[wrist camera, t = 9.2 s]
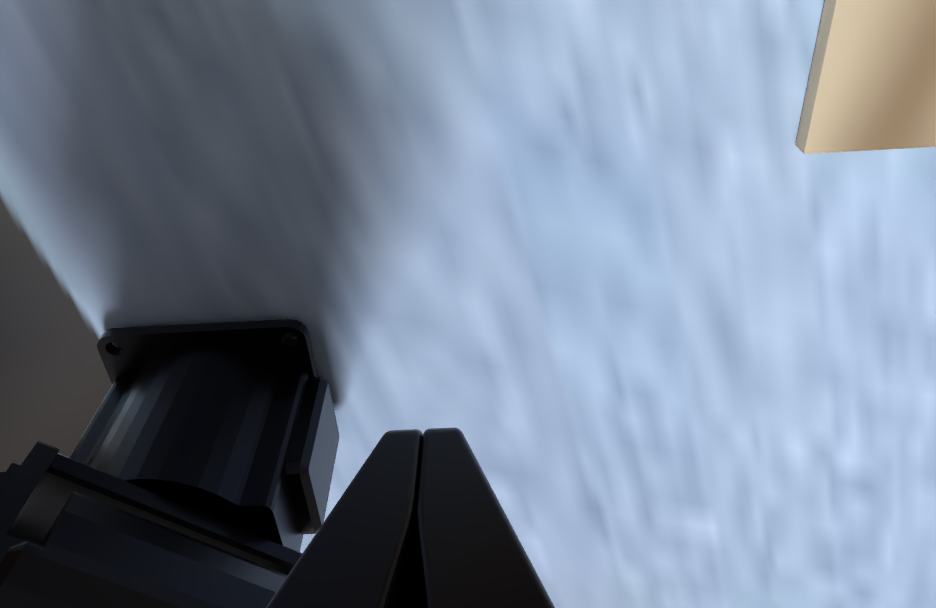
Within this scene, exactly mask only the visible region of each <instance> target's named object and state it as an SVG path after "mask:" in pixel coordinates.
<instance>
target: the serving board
mask: <svg viewBox="0 0 936 608" xmlns="http://www.w3.org/2000/svg"><path fill="white" fill-rule="evenodd" d="M795 145H796V146H797V147H798V148H799V149H800V150H801V151H802V152H803V153H804V154H810V153H829V152H847V151H865V150H883V149H902V148H920V147H936V0H825V2H824V7H823V12H822V17H821V22H820V27H819V32H818V37H817V42H816V46H815V51H814V56H813V61H812V66H811V71H810V76H809V81H808V86H807V91H806V95H805V100H804V105H803V110H802V115H801V120H800V125H799V130H798V135H797V140H796V144H795Z"/></svg>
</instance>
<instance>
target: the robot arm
mask: <svg viewBox="0 0 936 608" xmlns="http://www.w3.org/2000/svg"><path fill="white" fill-rule="evenodd" d="M287 333H290V334H294V335H295V336H297V338H296V339H291V338H288V337H287V336H286V335H285V334H287ZM111 342H113V343H117V344H118V345H120V346H121V348H120V347H116V346H114V345H113V344H112V343H111ZM97 347H98V351H99V354H100V356H101V358H102V361H103V363H104V365H105V368H106V370H107V373H108V375H109V377H110V380H111V382H112V386H111V388H110V389H109V391H108V393H107V395H106V396H105V398H104V400H103V401H102V403H101V405H100V406H99V408H98V410H97V411H96V413H95V415H94V417H93V418H92V420H91V422H90V423H89V425H88V427H87V428H86V430H85V432H84V434H83V435H82V437H81V438H80V440H79V442H78V444H77V445H76V447H75V448H74V450H73V452H72V453H71V455H70V457H67V456H64V455H62V454H59V453H58V452H59V449H58V448H55V447H53V446H50V445H48V444H46V443H43V442H41V441H38V442H37V443H36V445H35V446H34V447H33V449H32V450H31V452H30V453H29V454H28V456H27V457H26V459H25V460H24V462H23V463H19V462H16V461H13V463H12V464H11V465H10V467H9V468H8V469H7V471H6V472H0V608H555V607H554V605H553V603H552V601H551V599H550V598H549V596H548V594H547V592H546V590H545V588H544V586H543V584H542V582H541V580H540V579H539V577H538V575H537V573H536V571H535V569H534V567H533V565H532V563H531V562H530V560H529V558H528V556H527V554H526V552H525V550H524V548H523V546H522V545H521V543H520V541H519V539H518V537H517V535H516V533H515V531H514V529H513V528H512V526H511V524H510V522H509V520H508V518H507V516H506V514H505V512H504V510H503V509H502V507H501V505H500V503H499V501H498V499H497V497H496V495H495V493H494V492H493V490H492V488H491V486H490V484H489V482H488V480H487V478H486V476H485V475H484V473H483V471H482V469H481V467H480V465H479V463H478V461H477V459H476V458H475V456H474V454H473V452H472V450H471V448H470V446H469V444H468V442H467V440H466V439H465V437H464V435H463V433H462V432H461V431H460V429H458V428H435V429H427V430H426V431H425V432H424V434H422V432H421V431H420V430H417V429H414V430H393V431H388V432H387V433H385V434H384V435H383V437H382V438H381V439H380V441H379V442H378V444H377V445H376V447H375V448H374V450H373V451H372V453H371V454H370V456H369V457H368V459H367V460H366V461H365V463H364V464H363V466H362V467H361V469H360V470H359V472H358V473H357V475H356V476H355V478H354V479H353V480H352V482H351V483H350V485H349V486H348V488H347V489H346V491H345V492H344V494H343V495H342V497H341V498H340V500H339V501H338V502H337V504H336V505H335V507H334V508H333V510H332V511H331V513H330V514H329V516H328V517H327V519H326V520H325V522H324V517H325V511H326V506H327V501H328V495H329V490H330V484H331V479H332V473H333V468H334V463H335V457H336V452H337V446H338V441H339V432H338V427H337V422H336V417H335V412H334V407H333V402H332V398H331V393H330V388H329V383H328V382H327V381H326V380H325V379H324V378H323V377H318V375H317V371H316V366H315V361H314V357H313V352H312V347H311V343H310V338H309V333H308V330H307V328H306V326H305V325H303V324H302V323H301V322H299V321H297V320H291V319H286V320H266V321H247V322H228V323H208V324H189V325H169V326H150V327H130V328H113V329H109V330H107V331H106V332H104V333H103V335H102V336H101V338H100V339H99V342H98V344H97ZM323 522H324V523H323ZM315 533H316V535H315V536H314V538H313V539H312V541H311V542H310V543H309V545H308V546H307V548H306V549H305V551H304V552H303V553H300V548H301V543H302V539H303V534H315Z"/></svg>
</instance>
